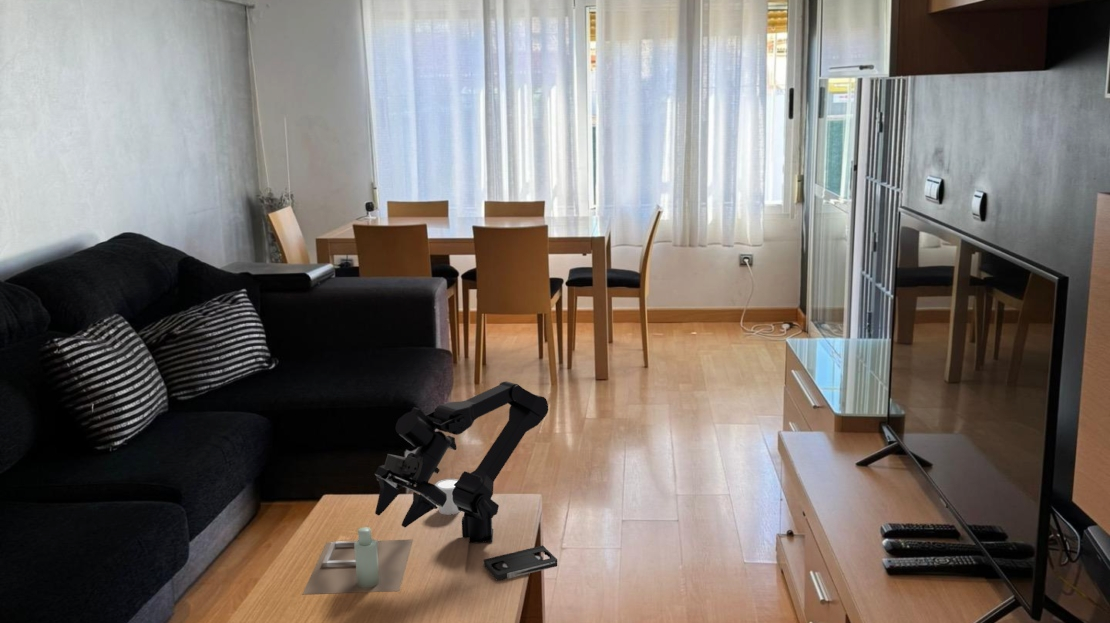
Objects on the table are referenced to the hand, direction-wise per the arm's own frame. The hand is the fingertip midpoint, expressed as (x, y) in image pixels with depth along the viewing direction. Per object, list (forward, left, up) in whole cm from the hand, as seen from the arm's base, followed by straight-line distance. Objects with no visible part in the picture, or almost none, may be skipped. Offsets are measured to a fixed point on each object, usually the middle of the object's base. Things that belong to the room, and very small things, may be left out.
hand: (389, 520), depth 210 cm
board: (+8, -3, -13) cm, 15 cm away
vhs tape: (-27, -3, -14) cm, 31 cm away
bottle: (+5, +5, -12) cm, 14 cm away
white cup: (-9, -33, -13) cm, 37 cm away
